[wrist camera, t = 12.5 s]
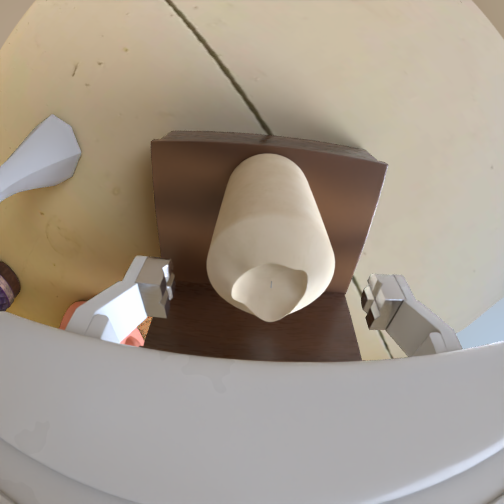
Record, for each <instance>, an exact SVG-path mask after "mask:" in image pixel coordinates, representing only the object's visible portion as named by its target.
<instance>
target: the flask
mask: <svg viewBox="0 0 504 504" xmlns="http://www.w3.org/2000/svg"><path fill="white" fill-rule="evenodd" d="M80 155H81V150H80V148H79V145H78V143H77V140H76V138H75V135H74V133H73V130H72V127H71V126H70V125H68V124H67V123H65V122H64V121H62V120H61V119H59V118H58V117H56V116H55V115H53V114H52V115H50V116H49V117H48V118H46V119H45V120H44V121H42V122H41V123H40V124H39V125H37V126H36V127H35V128H34V129H33V130H32V131H31V132H30V133H29V135H28V136H27V137H26V138H25V139H24V141H23V142H22V143H21V144H20V145H19V146H18V148H17V149H16V150H15V151H14V152H13V153H12V155H11V156H10V157H9V158H8V160H7V161H6V162H5V163H4V164H3V165H1V166H0V202H1V201H3V200H4V199H5V198H7V197H9V196H11V195H13V194H16V193H18V192H22V191H26V190H31V189H35V188H42V187H49V186H55V185H57V184H59V183H61V182H63V181H65V180H66V179H68V178H70V177H72V176H73V174H74V171H75V168H76V165H77V163H78V160H79V158H80Z"/></svg>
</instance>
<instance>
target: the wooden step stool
mask: <svg viewBox="0 0 504 504" xmlns="http://www.w3.org/2000/svg"><path fill="white" fill-rule="evenodd" d="M258 154H277V155H281V156H283V157H286V158H288V159H289V160H291V161H292V162H294V163H295V164H296V165H297V166H298V167H299V168H300V169H301V170H302V172H303V173H304V175H305V177H306V179H307V182H308V184H309V187H310V189H311V192H312V194H313V197H314V199H315V202H316V205H317V207H318V210H319V213H320V215H321V218H322V221H323V224H324V226H325V229H326V232H327V235H328V238H329V240H330V243H331V246H332V249H333V253H334V258H335V269H334V274H333V277H332V279H331V282H330V283H329V285H328V287H327V288H326V289H325V291H324V292H323V293H322V294H321V295H320V296H319V297H318V298H317V299H315V300H314V301H313V302H312V303H310V304H308V305H307V306H305V307H303V308H302V309H300V310H298V311H295V312H293V313H290V314H288V315H286V316H285V317H283V318H281V319H279V320H277V321H274V322H267V321H264V320H262V319H260V318H258V317H257V316H255V315H253V314H250V313H248V312H245V311H243V310H241V309H239V308H237V307H235V306H233V305H232V304H230V303H229V302H227V301H226V300H224V299H223V298H222V297H221V296H220V295H219V294H218V293H217V292H216V290H215V289H214V288H213V286H212V284H211V282H210V280H209V277H208V274H207V257H208V252H209V248H210V245H211V241H212V237H213V233H214V230H215V226H216V222H217V219H218V215H219V211H220V208H221V204H222V201H223V197H224V194H225V190H226V187H227V184H228V181H229V178H230V176H231V174H232V173H233V171H234V170H235V168H236V167H237V166H238V165H239V164H240V163H242V162H243V161H244V160H246V159H248V158H249V157H252V156H255V155H258ZM151 159H152V175H153V188H154V199H155V209H156V219H157V227H158V235H159V243H160V251H161V258H167V259H172V260H173V266H174V268H173V271H172V273H173V274H174V275H175V282H176V286H175V293H174V296H173V298H172V299H171V300H170V309H169V312H168V316H167V318H159V317H153V318H152V321H151V324H150V327H149V330H148V333H147V336H146V339H145V342H144V345H143V346H139V347H142V348H147V349H153V350H160V351H166V352H173V353H180V354H188V355H196V356H205V357H215V358H225V359H238V360H252V361H272V362H350V361H366V360H362V359H361V355H360V350H359V346H358V342H357V338H356V335H355V331H354V327H353V323H352V319H351V316H350V312H349V308H348V305H347V301H346V298H345V294H346V292H347V289H348V287H349V284H350V282H351V279H352V277H353V274H354V271H355V269H356V266H357V263H358V261H359V258H360V255H361V252H362V250H363V247H364V244H365V241H366V238H367V235H368V232H369V229H370V226H371V223H372V220H373V217H374V213H375V210H376V207H377V203H378V200H379V197H380V193H381V190H382V186H383V183H384V179H385V175H386V171H387V168H388V164H387V163H385V162H382V161H378V160H377V159H375V158H374V157H373V156H372V155H371V154H370V153H368V152H367V151H366V150H364V149H359V148H354V147H348V146H343V145H337V144H332V143H326V142H319V141H313V140H306V139H298V138H290V137H282V136H272V135H262V134H250V133H235V132H215V131H171V132H170V133H168V134H167V135H166V136H164V137H163V138H161V139H154V140H152V141H151Z"/></svg>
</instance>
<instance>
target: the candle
mask: <svg viewBox="0 0 504 504" xmlns="http://www.w3.org/2000/svg"><path fill="white" fill-rule="evenodd" d="M334 269H335V258H334V253H333V249H332V246H331V243H330V240H329V238H328V235H327V232H326V229H325V226H324V224H323V221H322V218H321V215H320V213H319V210H318V207H317V205H316V202H315V199H314V197H313V194H312V192H311V189H310V187H309V184H308V182H307V179H306V177H305V175H304V173H303V172H302V170H301V169H300V168H299V167H298V166H297V165H296V164H295V163H294V162H292V161H291V160H289V159H288V158H286V157H283V156H281V155H277V154H258V155H255V156H252V157H249V158H248V159H246V160H244V161H243V162H242V163H240V164H239V165H238V166H237V167H236V168H235V170H234V171H233V173H232V174H231V176H230V178H229V181H228V184H227V187H226V190H225V194H224V197H223V201H222V204H221V208H220V211H219V215H218V219H217V222H216V226H215V230H214V233H213V237H212V241H211V245H210V248H209V252H208V257H207V274H208V277H209V280H210V282H211V284H212V286H213V288H214V289H215V290H216V292H217V293H218V294H219V295H220V296H221V297H222V298H223V299H224V300H226V301H227V302H229V303H230V304H232V305H233V306H235V307H237V308H239V309H241V310H243V311H245V312H248V313H250V314H253V315H255V316H257V317H258V318H260V319H262V320H264V321H267V322H274V321H277V320H279V319H281V318H283V317H285V316H286V315H288V314H290V313H293V312H295V311H298V310H300V309H302V308H303V307H305V306H307V305H308V304H310V303H312V302H313V301H314V300H315V299H317V298H318V297H319V296H320V295H321V294H322V293H323V292H324V291H325V289H326V288H327V287H328V285H329V283H330V282H331V279H332V277H333V274H334Z"/></svg>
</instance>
